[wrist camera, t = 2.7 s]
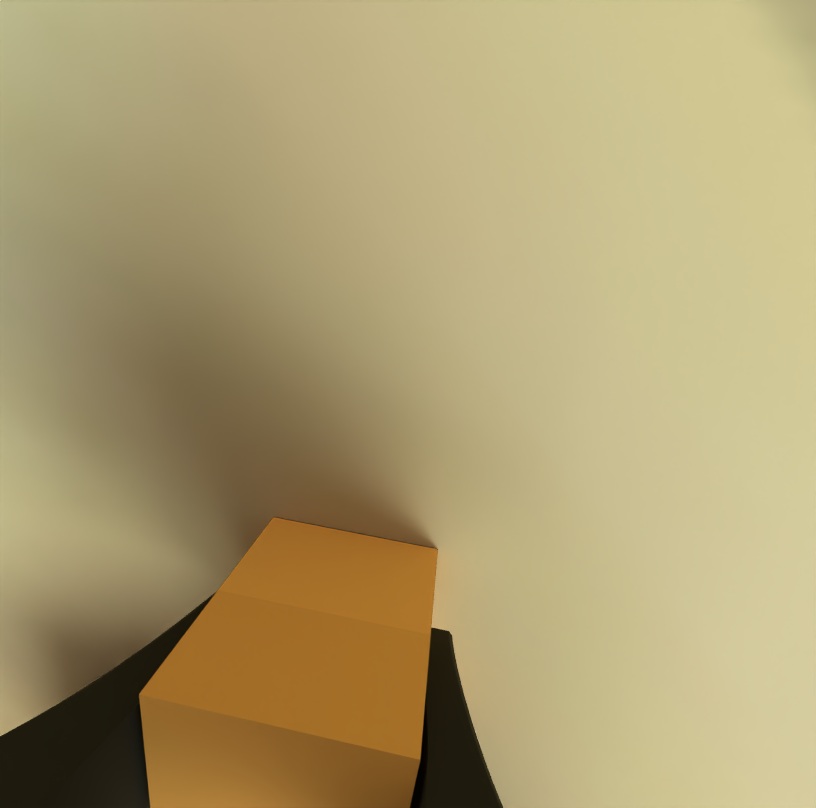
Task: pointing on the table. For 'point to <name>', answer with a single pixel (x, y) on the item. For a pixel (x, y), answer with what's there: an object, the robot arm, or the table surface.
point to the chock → (298, 679)
